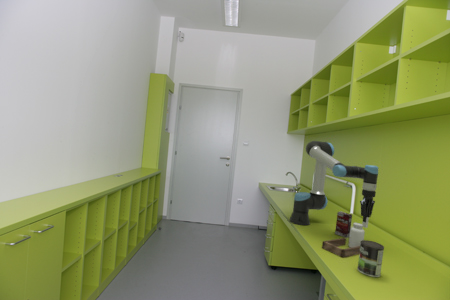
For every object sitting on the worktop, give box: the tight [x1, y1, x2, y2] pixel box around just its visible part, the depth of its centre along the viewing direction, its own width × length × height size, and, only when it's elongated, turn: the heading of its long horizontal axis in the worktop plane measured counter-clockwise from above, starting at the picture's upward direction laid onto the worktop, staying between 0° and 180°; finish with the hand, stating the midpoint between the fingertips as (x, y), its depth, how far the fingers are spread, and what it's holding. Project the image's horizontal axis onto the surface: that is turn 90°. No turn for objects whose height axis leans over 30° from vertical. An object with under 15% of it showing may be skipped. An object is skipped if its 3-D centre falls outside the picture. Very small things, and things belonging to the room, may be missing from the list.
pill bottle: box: [347, 222, 366, 248], centre depth 166 cm, size 8×8×15 cm
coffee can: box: [357, 239, 385, 278], centre depth 133 cm, size 10×10×14 cm
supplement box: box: [334, 211, 353, 239], centre depth 188 cm, size 9×5×16 cm, turn 40°
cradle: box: [321, 237, 360, 259], centre depth 159 cm, size 14×20×4 cm
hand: (364, 226), depth 170 cm, fingers closed
